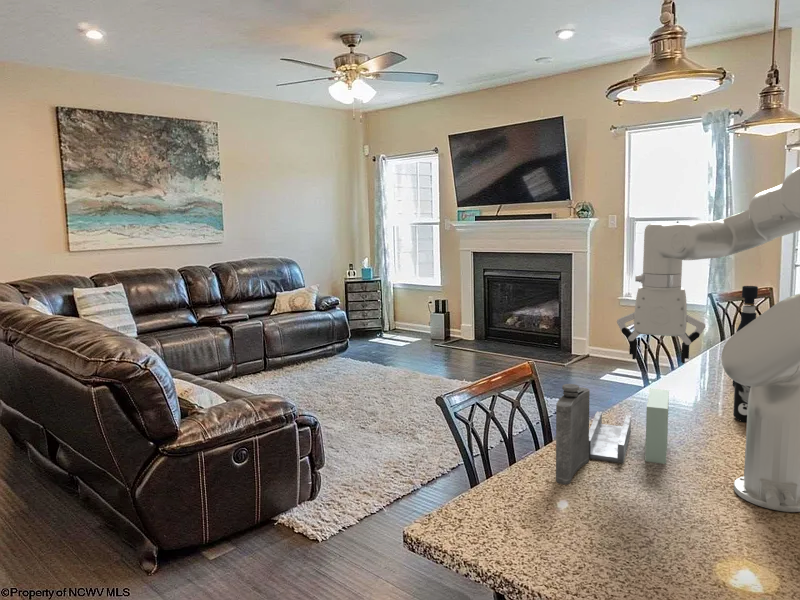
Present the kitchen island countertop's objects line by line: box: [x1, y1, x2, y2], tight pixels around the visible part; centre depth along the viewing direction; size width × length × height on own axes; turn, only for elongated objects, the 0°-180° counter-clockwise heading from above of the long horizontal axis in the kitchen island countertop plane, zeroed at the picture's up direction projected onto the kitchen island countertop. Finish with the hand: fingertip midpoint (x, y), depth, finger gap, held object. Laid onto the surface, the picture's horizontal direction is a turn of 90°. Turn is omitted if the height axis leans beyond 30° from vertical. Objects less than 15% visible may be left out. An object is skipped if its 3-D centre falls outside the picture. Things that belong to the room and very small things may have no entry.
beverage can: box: [733, 382, 751, 424], centre depth 144 cm, size 7×7×12 cm
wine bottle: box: [732, 285, 759, 387], centre depth 170 cm, size 6×6×30 cm
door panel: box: [644, 388, 670, 465], centre depth 126 cm, size 14×4×12 cm, turn 154°
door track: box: [589, 411, 632, 464], centre depth 131 cm, size 20×8×4 cm, turn 154°
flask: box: [555, 383, 591, 485], centre depth 117 cm, size 4×14×18 cm, turn 145°
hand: (658, 359), depth 125 cm, fingers open, 9 cm apart
